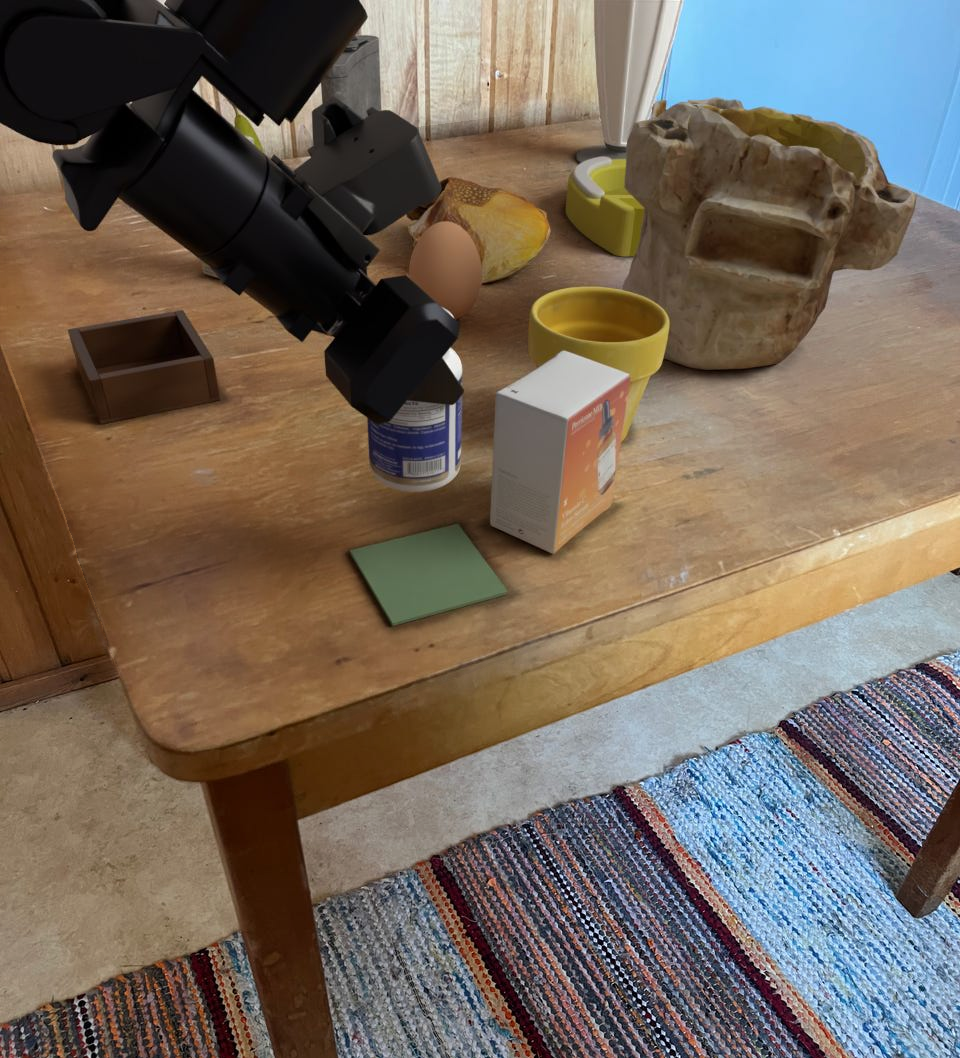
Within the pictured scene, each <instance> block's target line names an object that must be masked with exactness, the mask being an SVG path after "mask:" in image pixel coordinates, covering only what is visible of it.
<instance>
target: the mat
mask: <svg viewBox="0 0 960 1058" xmlns="http://www.w3.org/2000/svg"><path fill="white" fill-rule="evenodd" d="M349 553H350V556H351V558H352V559H353V561H354V563H355V565H356V566H357V568H358V569H359V571H360V573H361V575H362V576H363V579H364V580H365V582H366V583H367V585H368V587H369V589H370V590H371V592H372V594H373V596H374V597H375V599H376V601H377V602H378V604H379V606H380V608H381V609H382V611H383V613H384V615H385V616H386V618H387V620H388V622H389V623H390V625H391V626H392V627H395V626H399V625H403V624H405V623H411V622H413V621H416V620H420V619H424V618H427V617H431V616H434V615H438V614H443V613H446V612H449V611H453V610H455V609H456V610H457V609H460V608H464V607H467V606H471V605H476V604H478V603H482V602H485V601H489V600H492V599H496V598H500V597H503V596H507V595H508V590H507V589H506V587H505V585H504V584H503V583H502V582H501V580H500V579H499V578H498V576H497V574H495V572H494V570H493V569H492V568H491V567H490V565H489V563H487V561H486V560H485V558H484V557H483V556H482V554H481V553H480V552H479V550H478V549H477V547H476V546H475V545H474V543H473V542H472V540H471V539H470V538H469V536H468V535H467V534H466V532H465V531H464V530H463V529H462V527H461V525H460V524H459V523H455V524H451V525H447V526H443V527H439V528H435V529H431V530H428V531H423V532H418V533H415V534H411V535H406V536H403V537H398V538H394V539H390V540H386V541H381V542H377V543H374V544H369V545H366V546H362V547H357V548H354V549H350V550H349Z"/></svg>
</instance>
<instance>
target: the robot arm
mask: <svg viewBox="0 0 960 1058" xmlns="http://www.w3.org/2000/svg"><path fill="white" fill-rule="evenodd" d="M368 17H369V15H368V13H367V11H366V8H365V7H364V6H363V4H362V2H361V1H360V0H165V1H164V3H163V4H162V2H161V1H159V0H0V124H1V125H3V126H4V127H6V128H9V129H10V130H11V131H13V132H15V133H17V134H19V135H21V136H23V137H25V138H28V139H30V140H32V141H34V142H37V143H41V144H47V145H52V146H72V145H73V146H74V145H76V144H78V143H79V142H80V141H82V140H85V139H87V138H88V139H87V141H86V142H85V143H84V144H82V145H79V146H77V147H73V148H66V149H65V148H56V149H54V150H53V151H52V155H51V156H52V160H53V161H54V163H55V165H56V166H57V168H58V170H59V172H60V175H61V178H62V183H63V188H64V189H63V190H64V199H65V203H66V205H67V206H68V208H69V210H70V211H71V213H72V215H73V216H74V218H75V219H76V221H77V222H78V224H79V226H80V227H81V228H82V229H83V230H84V231H86V232H93V231H96V230H97V229H98V227H99V226H100V225H101V223H102V222H103V220H104V219H105V217H106V216H107V214H108V213H109V211H111V209H112V207H113V206H114V204H115V203H116V202H117V200H118V199H119V200H120V201H121V202H122V203H124V204H125V205H128V206H129V207H130V208H131V209H132V210H133V211H135V212H137V213H138V214H139V215H140V216H142V217H143V218H144V219H146V220H147V221H148V222H150V223H151V224H152V225H154V226H155V227H157V228H158V229H159V230H161V231H162V232H163V233H164V234H166V235H167V236H168V237H170V238H171V239H172V240H174V241H175V242H177V243H178V244H179V245H181V246H182V247H183V248H185V249H186V250H187V251H189V252H190V253H191V254H193V255H194V256H195V257H197V258H198V259H199V260H200V261H201V260H202V261H203V262H204V263H206V264H207V265H208V266H210V268H211V269H212V270H213V271H214V273H215V274H216V275H217V276H218V278H217V279H219V281H220V282H221V283H222V284H223V285H224V286H226V287H227V288H228V289H229V290H231V291H232V292H233V293H235V294H236V295H238V296H241V295H242V294H243V293H245V294H246V295H247V296H248V297H250V298H251V299H252V300H254V301H255V302H256V303H257V304H259V305H260V306H261V307H263V308H264V309H266V310H267V311H268V312H269V313H271V314H272V315H274V317H275V318H276V319H277V321H278V322H279V323H280V324H281V326H282V327H283V328H284V329H285V330H286V332H287V333H289V334H290V335H291V336H293V337H294V338H295V339H297V340H298V341H300V342H301V343H303V342H304V341H305V340H306V338H307V337H308V336H309V335H310V333H311V332H312V331H313V332H317V333H319V334H321V335H325V336H329V337H332V338H333V339H332V340H331V342H330V343H329V344H328V345H327V347H326V348H325V350H323V354H324V366H325V370H324V371H325V377H326V378H327V379H328V380H329V382H331V383H332V385H333V386H334V387H335V389H336V390H337V391H338V392H339V393H340V394H341V396H342V397H343V399H344V400H345V401H346V402H347V403H348V404H349V405H350V406H351V408H353V409H354V410H355V411H357V412H358V413H360V414H361V415H362V416H364V417H366V419H367V418H368V419H370V420H371V421H373V422H374V423H375V424H377V425H380V424H383V423H387V422H390V421H391V419H392V418H393V417H394V416H395V415H396V413H397V412H398V411H399V410H400V408H401V407H402V406H403V405H404V404H405V402H406V401H417V402H426V403H436V404H445V405H454V404H455V403H456V402H457V401H458V399H459V398H460V397H461V396H462V397H463V394H464V393H465V388H464V387H463V385H462V386H461V384H460V383H459V381H458V380H457V378H456V377H455V375H454V374H453V373H452V371H451V370H450V368H449V367H448V365H447V364H446V362H445V361H444V359H443V358H442V357H443V356H444V355H445V354H446V352H447V351H448V350H449V349H450V348H452V347H453V345H454V344H455V343H456V342H457V341H458V339H459V335H460V328H461V323H460V322H459V321H458V320H457V319H454V318H453V317H452V316H451V315H450V314H449V313H448V312H446V311H445V310H444V309H443V308H442V307H441V306H440V305H439V304H438V303H437V302H435V301H434V300H433V299H432V298H431V297H430V296H429V295H428V294H427V293H425V292H424V291H423V290H422V289H421V288H420V287H419V286H418V285H417V284H415V283H414V282H413V281H412V280H411V279H410V278H409V275H407V274H402V275H396V276H391V277H390V276H389V277H384V278H380V280H378V282H377V283H375V282H374V281H373V280H372V279H371V278H370V277H369V276H368V267H369V265H371V263H372V261H373V260H374V259H375V258H376V257H377V255H378V254H379V252H381V249H380V248H379V247H378V246H377V245H376V244H374V243H373V242H372V241H371V240H370V239H369V238H368V236H373V235H376V234H378V233H380V232H382V231H383V230H385V229H387V228H388V227H390V226H392V225H393V224H394V223H396V222H397V221H399V220H400V219H401V218H403V217H405V216H407V215H406V214H407V213H409V212H410V211H412V210H413V209H415V208H416V207H418V206H420V205H422V206H426V205H428V204H429V203H431V202H432V201H434V200H435V199H436V198H437V197H438V195H439V194H440V192H441V185H440V179H439V178H438V176H437V172H436V171H435V167H434V166H433V162H432V161H431V158H430V155H429V153H428V151H427V148H426V146H425V143H424V141H423V138H422V136H421V133H420V131H419V128H418V127H417V126H415V125H414V124H412V123H411V122H410V121H407V120H406V119H405V118H403V117H401V115H398V114H397V113H395V112H394V111H392V110H390V109H383V110H382V109H381V111H378V110H376V109H375V108H373V107H371V108H369V109H368V110H366V112H367V114H368V117H366V118H365V119H363V118H362V117H361V116H360V115H358V114H357V113H356V112H355V111H353V110H352V109H351V108H350V107H348V106H347V105H346V104H344V103H343V102H341V101H340V100H338V99H337V98H336V97H332V98H331V99H329V100H328V101H326V102H325V103H323V104H322V103H321V104H320V105H318V106H317V107H315V108H314V109H313V110H312V111H311V125H312V126H311V127H312V128H311V129H312V146H310V147H308V149H307V153H308V154H309V156H310V157H309V158H308V159H306V160H305V161H304V162H303V163H302V164H300V165H299V166H298V167H296V168H295V169H294V170H292V169H291V168H290V167H289V166H288V165H287V164H286V163H285V162H284V161H282V159H280V158H279V157H278V156H277V155H276V154H275V153H273V155H272V156H271V157H269V156H268V155H267V154H265V152H264V153H263V152H262V151H261V150H260V149H258V148H257V147H256V146H255V145H254V144H253V143H252V142H251V141H250V140H248V139H247V138H246V137H245V136H244V135H243V134H242V133H241V132H240V131H238V130H237V129H236V128H235V125H233V124H232V123H231V122H230V121H229V120H227V119H226V118H225V117H224V116H223V115H222V114H221V113H220V112H219V111H218V110H217V109H216V108H214V107H213V106H212V105H211V104H210V103H208V102H207V100H205V99H204V98H203V97H202V96H201V95H200V94H199V93H197V92H196V90H195V89H194V88H195V87H196V86H197V84H198V83H199V81H200V80H201V78H203V79H204V80H205V81H207V83H208V84H210V85H211V86H212V88H214V89H215V90H216V91H217V92H218V93H219V94H221V95H222V96H223V97H224V98H225V99H226V101H227V100H228V101H229V102H231V103H232V104H233V105H234V106H235V107H236V108H237V110H238V112H240V113H241V114H242V115H243V116H244V117H245V118H246V119H247V120H248V121H250V122H252V123H253V124H254V125H255V126H256V127H257V128H259V127H260V126H261V124H262V123H263V121H264V120H265V118H266V117H265V116H264V115H266V116H267V117H268V118H269V119H270V120H271V121H272V122H273V123H274V124H276V125H277V126H278V127H280V126H281V125H282V124H283V122H284V120H286V121H287V122H288V123H290V124H292V123H293V122H294V120H295V119H296V118H297V116H298V115H299V113H300V112H301V111H302V109H303V108H304V107H305V105H306V104H307V102H308V101H309V100H310V98H311V97H312V95H314V93H315V91H316V90H317V88H319V86H320V85H321V82H322V80H323V79H324V78H325V76H326V75H327V73H328V72H329V71H330V69H331V68H332V67H333V65H334V64H335V62H336V61H337V60H338V58H339V57H340V56H341V54H342V53H343V51H344V50H345V49H346V47H347V46H348V45H349V43H350V42H351V41H352V39H353V38H354V36H355V35H356V34H357V32H358V31H359V32H360V29H362V26H363V25H365V23H366V21H367V20H368ZM228 101H227V102H228ZM229 102H228V103H229Z"/></svg>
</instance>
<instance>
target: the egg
mask: <svg viewBox="0 0 960 1058" xmlns="http://www.w3.org/2000/svg"><path fill="white" fill-rule="evenodd" d="M408 267H409V268H408V277H409V278H410V279H411V280H412V281H413V282H414V283H415V284H417V285H418V286H419V287H420V288H421V289H422V290H423V291H424V292H425V293H427V294H428V295H429V296H430V297H431V298H432V299H433V300H434V301H435V302H437V303H438V304H439V305H440V306H441V307H443V308H445V309H446V310H448V311H449V312H450V313H451V314H452V315H453V317H454V319H455V320H458V319H461V318H462V317H464V316H465V315H466V314H467V313H468V312H469V311H470V310H471V309H472V308H473V306H474V305H475V303H476V302H477V300H478V297H479V296H480V293H481V289H482V285H483V283H482V266H481V261H480V256H479V254H478V251H477V249H476V246H475V244H474V242H473V240H472V239H471V237H470V236H469V234H468V233H467V232H466V231H465V230H464V229H463V228H462V227H460V226H459V225H457V224H455V223H452V222H448V221H444V222H439V223H436V224H434V225H432V226H430V227H429V228H428V229H427V230H426V231H425V232H424V233H423V234H422V236H421V237H420V239H419V240H418V242H417V244H416V246H415V248H414V247H413V250H412V254H411V256H410V261H409V265H408Z"/></svg>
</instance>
